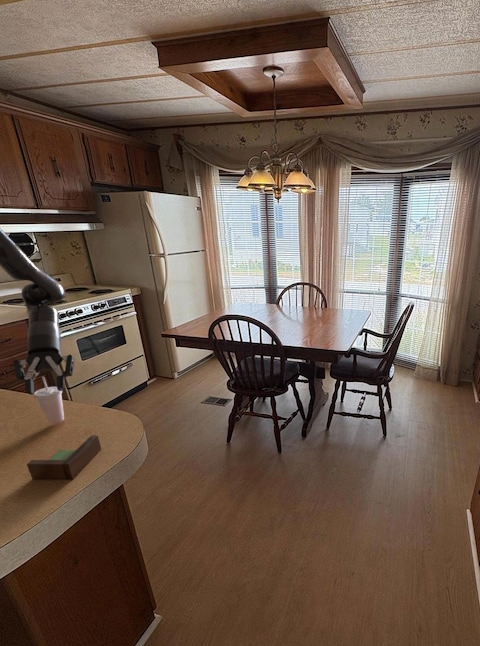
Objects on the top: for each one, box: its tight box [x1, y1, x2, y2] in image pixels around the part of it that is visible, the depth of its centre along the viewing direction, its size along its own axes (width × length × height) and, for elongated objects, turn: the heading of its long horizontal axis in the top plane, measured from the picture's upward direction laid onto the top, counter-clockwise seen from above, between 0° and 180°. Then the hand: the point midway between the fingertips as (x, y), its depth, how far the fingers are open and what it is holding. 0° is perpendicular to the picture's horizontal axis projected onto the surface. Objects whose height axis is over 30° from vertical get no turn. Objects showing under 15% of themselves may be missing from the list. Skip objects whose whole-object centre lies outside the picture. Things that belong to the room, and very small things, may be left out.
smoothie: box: [33, 376, 65, 425], centre depth 98 cm, size 6×6×14 cm
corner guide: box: [26, 434, 102, 481], centre depth 85 cm, size 10×12×4 cm
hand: (45, 391), depth 96 cm, fingers closed on smoothie, 6 cm apart
